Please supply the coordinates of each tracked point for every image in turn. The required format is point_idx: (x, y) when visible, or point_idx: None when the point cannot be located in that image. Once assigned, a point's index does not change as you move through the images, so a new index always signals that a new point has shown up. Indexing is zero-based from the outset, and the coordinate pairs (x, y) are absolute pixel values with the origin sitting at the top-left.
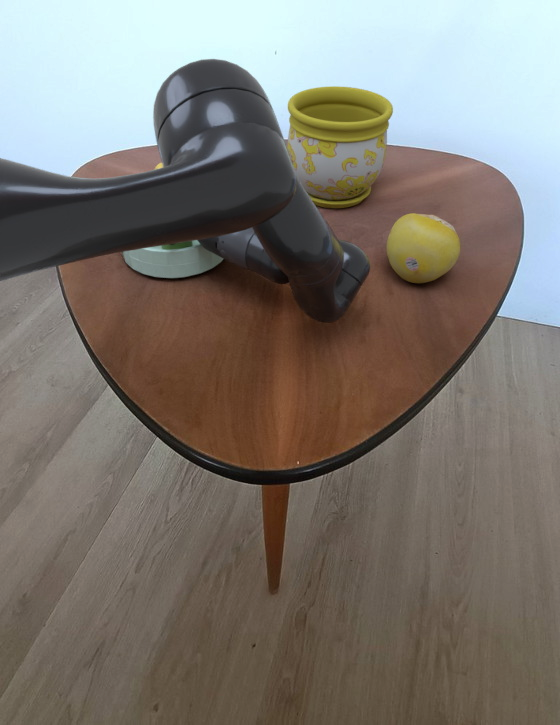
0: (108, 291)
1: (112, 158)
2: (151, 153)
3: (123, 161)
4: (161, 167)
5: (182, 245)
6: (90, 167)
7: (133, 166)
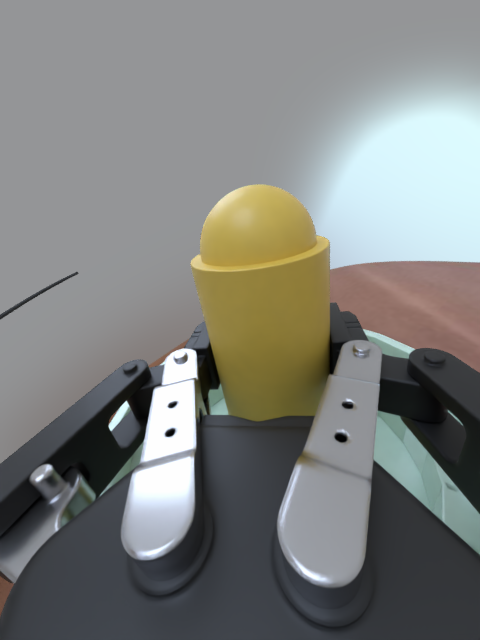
0: None
1: (371, 265)
2: (430, 267)
3: (381, 269)
4: (218, 202)
5: None
6: (337, 268)
7: (388, 276)
